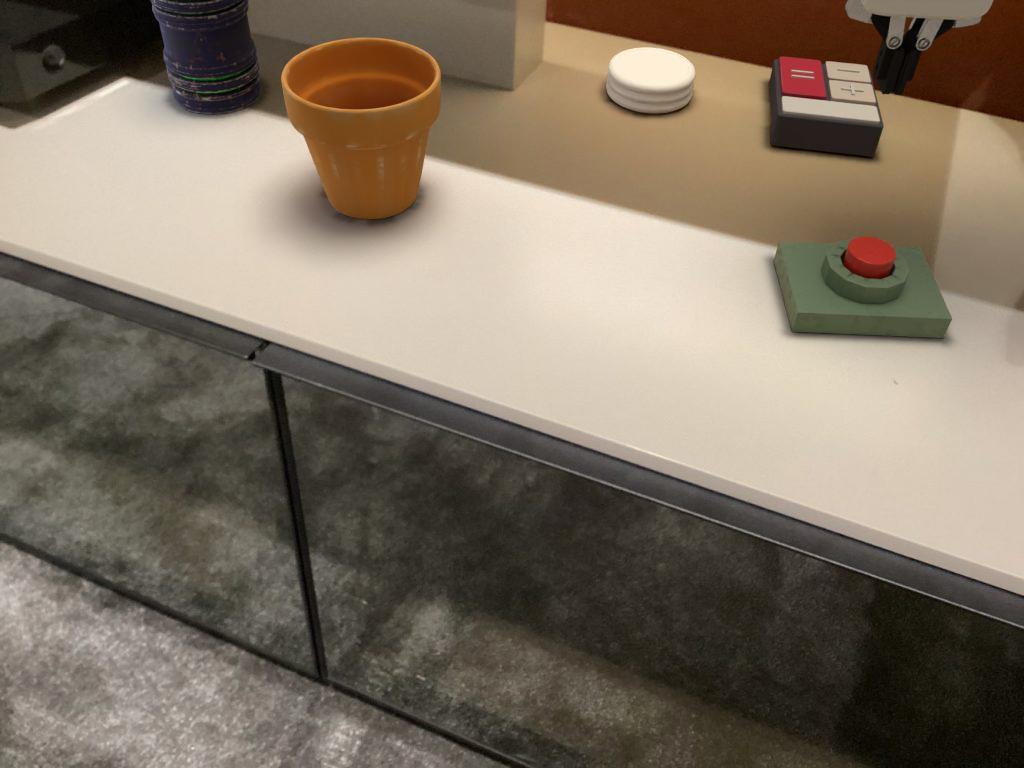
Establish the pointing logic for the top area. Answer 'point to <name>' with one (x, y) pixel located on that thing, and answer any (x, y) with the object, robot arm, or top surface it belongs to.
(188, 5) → the storage jar
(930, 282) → the button box
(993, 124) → the top surface
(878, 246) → the red push button
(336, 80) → the flower pot
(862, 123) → the calculator
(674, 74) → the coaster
